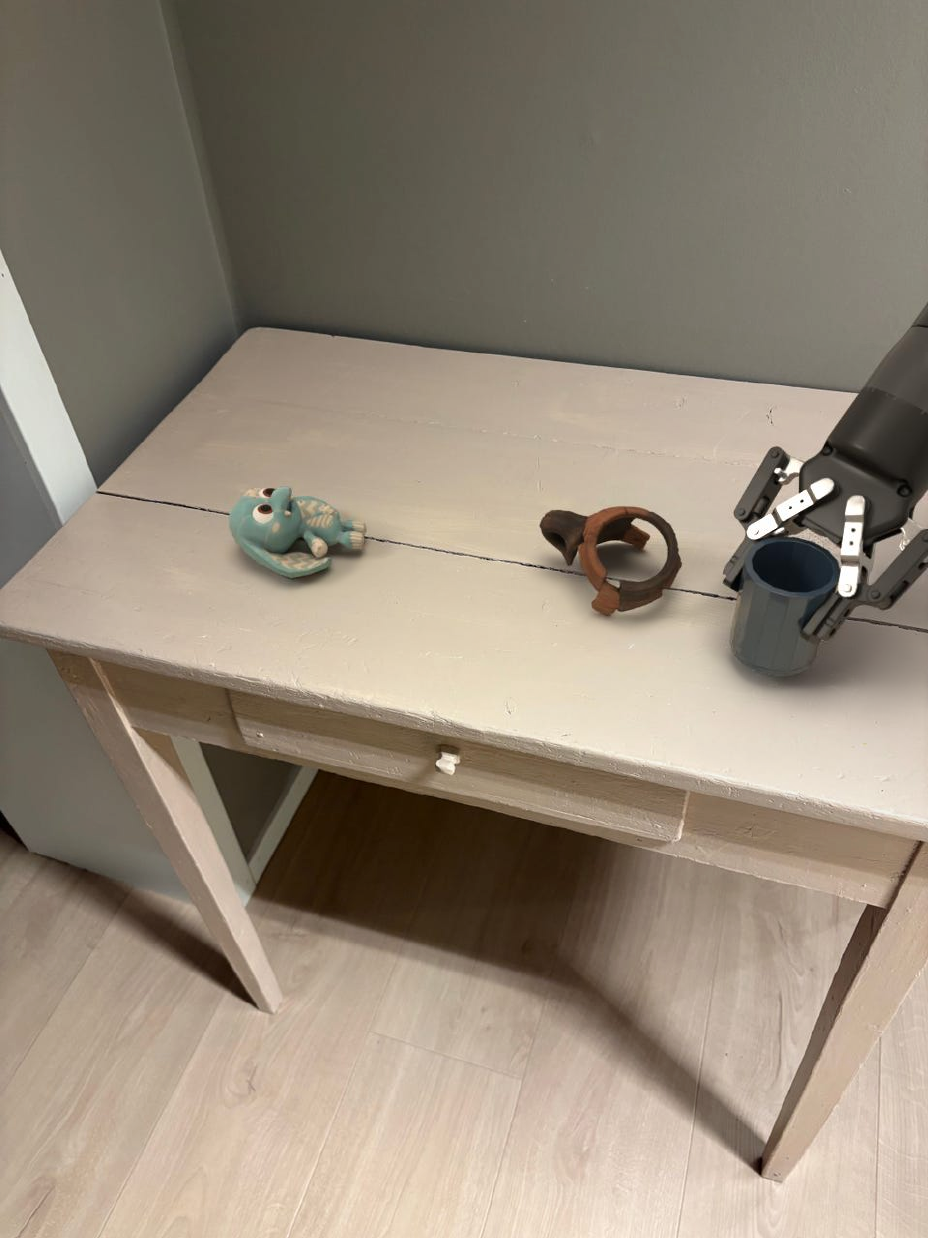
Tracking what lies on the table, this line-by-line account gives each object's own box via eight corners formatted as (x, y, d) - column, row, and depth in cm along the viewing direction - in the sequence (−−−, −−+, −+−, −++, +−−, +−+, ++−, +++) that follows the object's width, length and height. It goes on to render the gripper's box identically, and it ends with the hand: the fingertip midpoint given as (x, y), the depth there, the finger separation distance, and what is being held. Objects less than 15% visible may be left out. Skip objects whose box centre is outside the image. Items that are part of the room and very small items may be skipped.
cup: (788, 607, 75) (808, 528, 70) (834, 664, 71) (859, 583, 65) (714, 627, 74) (729, 548, 69) (755, 685, 70) (774, 606, 64)
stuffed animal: (361, 538, 78) (213, 519, 77) (356, 601, 83) (217, 584, 82) (375, 462, 86) (240, 443, 85) (369, 524, 91) (242, 507, 90)
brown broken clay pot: (677, 549, 84) (703, 514, 76) (645, 646, 82) (668, 620, 74) (549, 502, 85) (561, 462, 77) (512, 597, 82) (521, 566, 74)
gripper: (809, 351, 67) (672, 552, 70) (1002, 439, 58) (835, 662, 62) (841, 391, 73) (713, 575, 76) (1021, 476, 64) (867, 678, 68)
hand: (768, 613), depth 69 cm, fingers closed on cup, 6 cm apart
